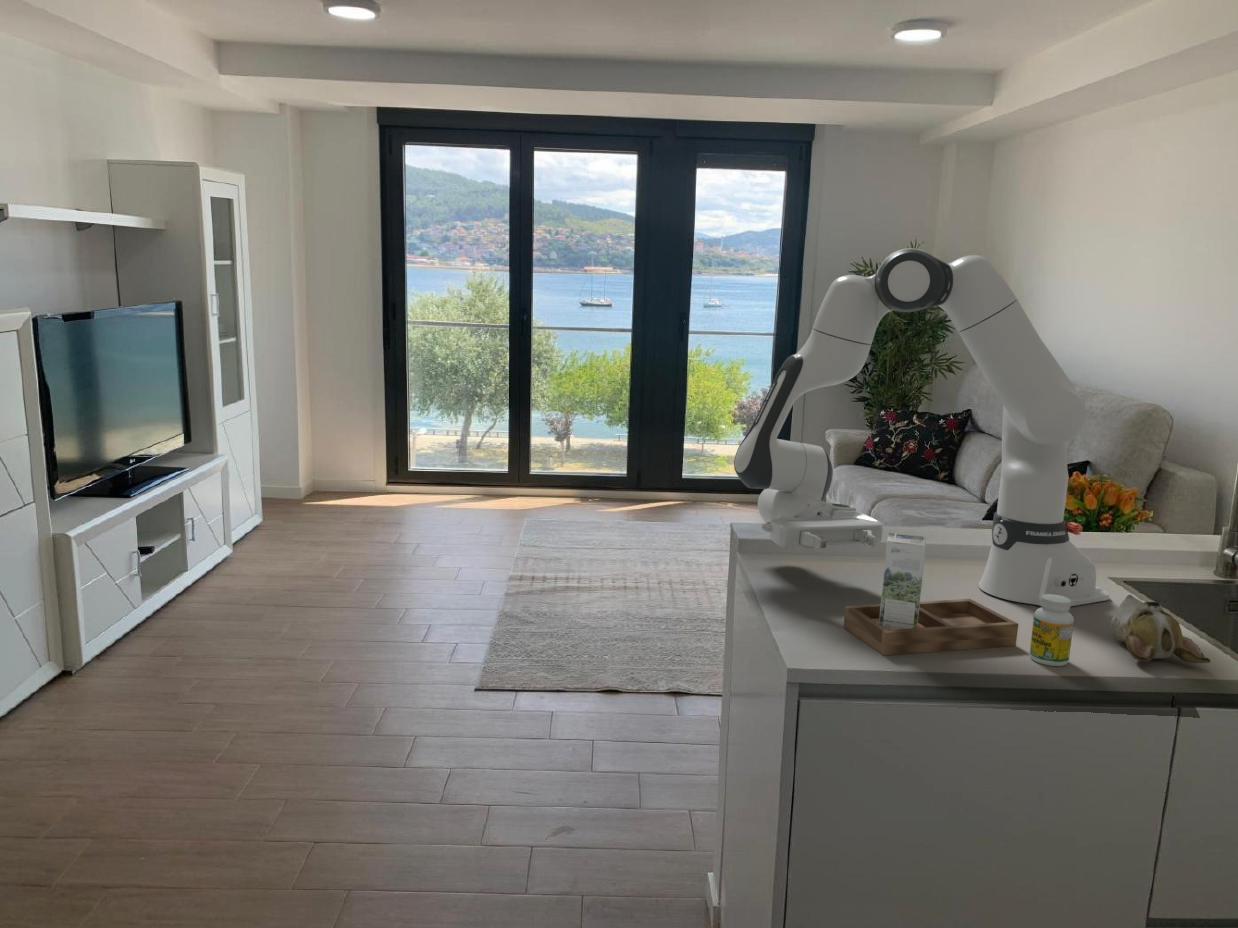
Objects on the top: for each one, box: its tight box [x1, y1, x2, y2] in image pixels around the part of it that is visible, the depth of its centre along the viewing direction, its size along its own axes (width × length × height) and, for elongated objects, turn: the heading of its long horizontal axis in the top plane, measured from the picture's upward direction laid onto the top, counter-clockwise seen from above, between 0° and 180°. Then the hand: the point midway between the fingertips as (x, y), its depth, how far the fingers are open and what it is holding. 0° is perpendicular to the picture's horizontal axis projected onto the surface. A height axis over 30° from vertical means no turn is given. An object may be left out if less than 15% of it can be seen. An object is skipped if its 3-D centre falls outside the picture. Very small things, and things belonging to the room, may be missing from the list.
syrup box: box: [879, 532, 927, 630], centre depth 146 cm, size 6×6×14 cm
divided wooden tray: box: [843, 598, 1019, 656], centre depth 149 cm, size 23×12×4 cm, turn 106°
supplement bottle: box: [1029, 594, 1075, 667], centre depth 141 cm, size 5×5×10 cm
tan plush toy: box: [1110, 594, 1212, 664], centre depth 145 cm, size 11×9×15 cm
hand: (847, 543), depth 162 cm, fingers open, 8 cm apart
